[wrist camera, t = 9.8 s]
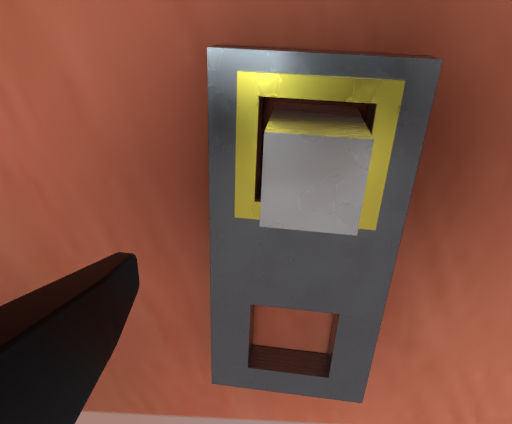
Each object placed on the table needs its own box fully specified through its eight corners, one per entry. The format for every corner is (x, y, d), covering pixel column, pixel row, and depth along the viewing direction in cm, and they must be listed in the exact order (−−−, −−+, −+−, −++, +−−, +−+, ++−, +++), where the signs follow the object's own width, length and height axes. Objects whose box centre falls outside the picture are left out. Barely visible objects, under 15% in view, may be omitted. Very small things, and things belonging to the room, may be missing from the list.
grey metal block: (271, 175, 22) (259, 226, 16) (276, 101, 20) (264, 131, 15) (344, 181, 21) (357, 235, 16) (356, 106, 20) (374, 139, 14)
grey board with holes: (217, 360, 28) (210, 387, 26) (216, 44, 19) (205, 47, 17) (358, 378, 27) (362, 407, 25) (429, 55, 18) (445, 60, 16)
